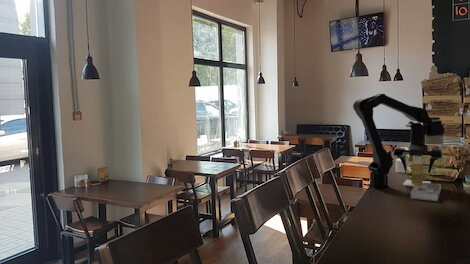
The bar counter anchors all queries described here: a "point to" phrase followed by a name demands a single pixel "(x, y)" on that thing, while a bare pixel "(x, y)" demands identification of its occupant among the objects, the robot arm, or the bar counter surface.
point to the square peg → (417, 172)
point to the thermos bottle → (434, 138)
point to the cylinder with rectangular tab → (399, 163)
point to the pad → (408, 183)
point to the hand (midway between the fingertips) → (417, 172)
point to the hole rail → (426, 191)
